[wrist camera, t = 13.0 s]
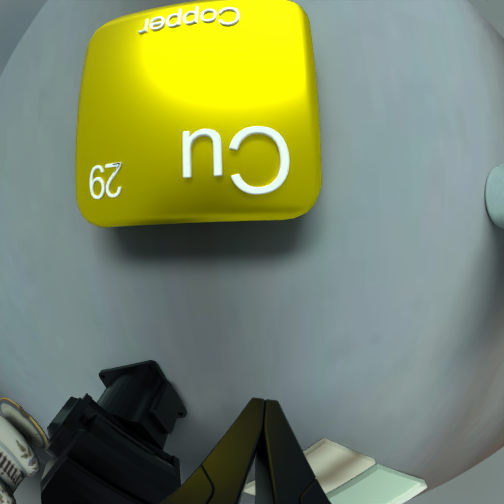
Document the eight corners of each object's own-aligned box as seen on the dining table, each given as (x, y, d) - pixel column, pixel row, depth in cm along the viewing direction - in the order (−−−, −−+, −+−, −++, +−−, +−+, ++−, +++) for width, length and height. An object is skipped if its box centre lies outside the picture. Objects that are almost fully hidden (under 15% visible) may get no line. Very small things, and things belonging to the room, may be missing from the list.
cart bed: (242, 486, 26) (242, 491, 25) (323, 437, 24) (325, 442, 23) (296, 503, 27) (297, 507, 26) (373, 458, 25) (375, 463, 24)
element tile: (298, 27, 16) (308, -7, 12) (308, 214, 20) (325, 221, 15) (113, 46, 17) (87, 22, 12) (106, 222, 20) (72, 231, 15)
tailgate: (308, 513, 25) (367, 523, 27) (380, 473, 23) (427, 487, 25) (307, 503, 27) (365, 515, 28) (377, 463, 25) (423, 479, 27)
